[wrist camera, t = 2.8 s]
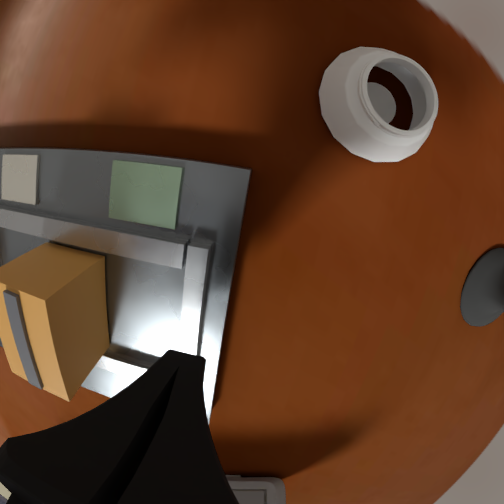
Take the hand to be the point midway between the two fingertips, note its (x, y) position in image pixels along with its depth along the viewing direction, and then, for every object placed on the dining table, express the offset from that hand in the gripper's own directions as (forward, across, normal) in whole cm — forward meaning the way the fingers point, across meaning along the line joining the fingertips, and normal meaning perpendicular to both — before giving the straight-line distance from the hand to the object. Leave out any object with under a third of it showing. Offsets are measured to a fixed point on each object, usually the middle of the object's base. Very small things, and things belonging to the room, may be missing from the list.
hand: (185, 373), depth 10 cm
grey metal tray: (+4, +8, 0) cm, 9 cm away
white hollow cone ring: (+5, -6, -11) cm, 13 cm away
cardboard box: (+3, +7, 0) cm, 7 cm away
